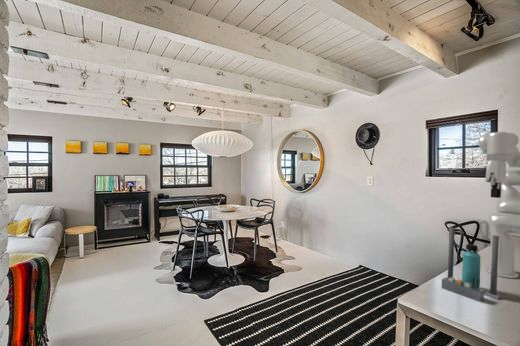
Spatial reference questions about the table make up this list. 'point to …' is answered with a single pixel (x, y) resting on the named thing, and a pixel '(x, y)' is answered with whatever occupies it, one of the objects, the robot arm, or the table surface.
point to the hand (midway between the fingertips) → (495, 197)
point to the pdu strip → (463, 288)
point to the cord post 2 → (494, 269)
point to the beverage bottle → (471, 266)
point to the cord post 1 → (451, 252)
